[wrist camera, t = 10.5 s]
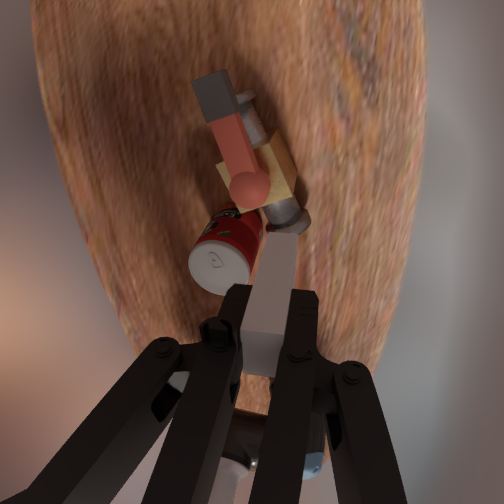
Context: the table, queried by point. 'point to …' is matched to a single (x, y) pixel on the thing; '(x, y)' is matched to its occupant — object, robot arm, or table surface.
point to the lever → (232, 139)
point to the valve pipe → (271, 172)
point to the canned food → (226, 249)
